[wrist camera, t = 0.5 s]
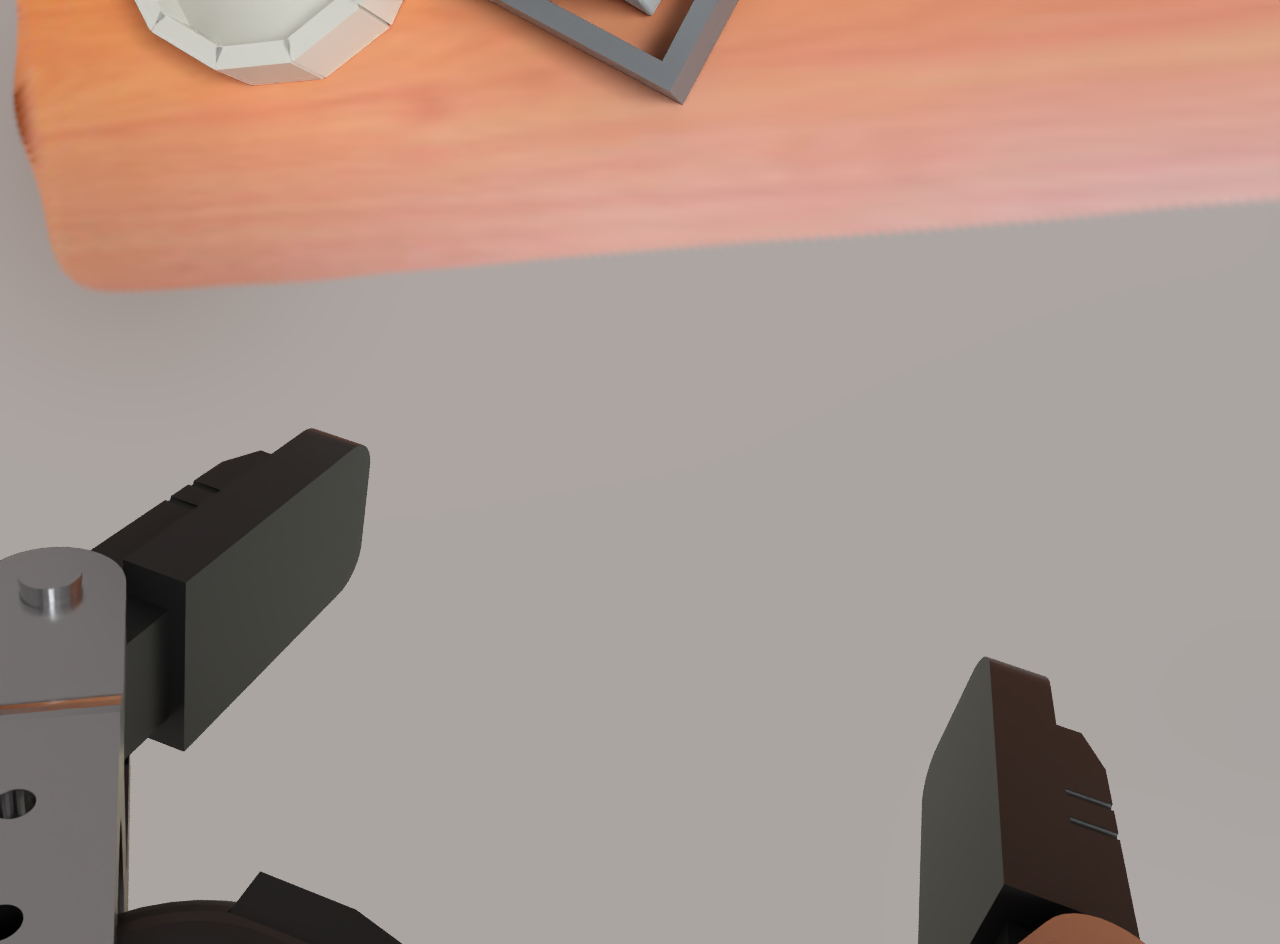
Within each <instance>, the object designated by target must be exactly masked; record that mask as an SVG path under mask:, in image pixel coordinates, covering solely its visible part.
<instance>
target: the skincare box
mask: <svg viewBox="0 0 1280 944" xmlns="http://www.w3.org/2000/svg"><path fill="white" fill-rule="evenodd" d="M625 1H626V2H628V3H630V4H631V5H633V6H635V7H636V8H638V9H640V10H641V11H643V12H644V13H646V14H648V15H650V16H651V15H652V14H654V12H655V11H656V9H657V7H658V5H659V4H660V2H661V0H625Z"/></svg>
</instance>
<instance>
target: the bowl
mask: <svg viewBox="0 0 1280 944" xmlns="http://www.w3.org/2000/svg"><path fill="white" fill-rule="evenodd" d="M135 2H136V4H137V6H138V8H139V10H140V12H141V14H142V16H143V18H144V20H145V22H146V24H147V25H148V27H149V29H150V30H151V31H152V33H154V34H156V35H157V36H159V37H161V38H162V39H164V40H166V41H167V42H169V43H171V44H172V45H174V46H176V47H177V48H179V49H181V50H182V51H184V52H186V53H187V54H189V55H191V56H192V57H194V58H196V59H197V60H199V61H201V62H202V63H204V64H206V65H207V66H209V67H211V68H212V69H214V70H216V71H219V72H221V73H223V74H226V75H228V76H230V77H233V78H235V79H237V80H240V81H242V82H244V83H247V84H249V85H252V86H253V85H264V84H275V83H285V82H296V81H307V80H318V79H323V77H325V78H327V77H328V76H329V75H330V74H332V73H333V72H334V71H335V70H337V69H338V68H339V67H341V66H342V65H343V64H344V63H346V62H347V61H348V60H349V59H351V58H352V57H353V56H355V55H356V54H357V53H358V52H360V51H361V50H362V49H363V48H365V47H366V46H367V45H369V44H370V43H371V42H372V41H374V40H375V39H376V38H377V37H379V36H380V35H381V34H382V33H384V32H385V31H386V30H388V29H389V28H390V27H389V25H388V24H390V25H392V24H393V21H394V19H395V17H396V15H397V13H398V10H399V8H400V6H401V4H402V2H403V0H135ZM387 23H388V24H387Z"/></svg>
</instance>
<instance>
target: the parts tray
mask: <svg viewBox="0 0 1280 944" xmlns="http://www.w3.org/2000/svg"><path fill="white" fill-rule="evenodd" d="M490 1H491V2H493V3H495V4H497V5H499V6H501V7H503V8H504V9H506V10H508V11H510V12H512V13H514V14H516V15H517V16H519V17H521V18H523V19H525V20H527V21H528V22H530V23H532V24H534V25H536V26H538V27H540V28H541V29H543V30H545V31H547V32H549V33H551V34H553V35H554V36H556V37H558V38H560V39H562V40H564V41H566V42H567V43H569V44H571V45H573V46H575V47H577V48H578V49H580V50H582V51H584V52H586V53H588V54H590V55H591V56H593V57H595V58H597V59H599V60H601V61H603V62H604V63H606V64H608V65H610V66H612V67H614V68H616V69H617V70H619V71H621V72H623V73H625V74H627V75H629V76H630V77H632V78H634V79H636V80H638V81H640V82H641V83H643V84H645V85H647V86H649V87H651V88H653V89H654V90H656V91H658V92H660V93H662V94H664V95H666V96H667V97H669V98H671V99H673V100H675V101H677V102H679V103H680V104H682V105H683V103H684V101H685V99H686V98H687V96H688V94H689V92H690V90H691V88H692V86H693V84H694V83H695V81H696V79H697V77H698V75H699V73H700V71H701V69H702V68H703V66H704V64H705V62H706V60H707V58H708V56H709V54H710V53H711V51H712V49H713V47H714V45H715V43H716V41H717V39H718V38H719V36H720V34H721V32H722V30H723V28H724V26H725V24H726V23H727V21H728V19H729V17H730V15H731V13H732V11H733V9H734V8H735V6H736V4H737V2H738V0H694V2H693V4H692V5H691V7H690V9H689V11H688V13H687V15H686V17H685V19H684V21H683V23H682V25H681V26H680V28H679V30H678V32H677V34H676V36H675V38H674V40H673V42H672V44H671V46H670V47H669V49H668V51H667V53H666V55H665V57H664V59H663V61H661V60H659V59H657V58H655V57H653V56H652V55H650V54H648V53H646V52H644V51H642V50H640V49H638V48H636V47H635V46H633V45H631V44H629V43H627V42H625V41H623V40H621V39H620V38H618V37H616V36H614V35H612V34H610V33H608V32H606V31H604V30H603V29H601V28H599V27H597V26H595V25H593V24H591V23H589V22H588V21H586V20H584V19H582V18H580V17H578V16H576V15H574V14H573V13H571V12H569V11H567V10H565V9H563V8H561V7H559V6H557V5H556V4H554V3H552V2H550V1H548V0H490Z"/></svg>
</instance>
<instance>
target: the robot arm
mask: <svg viewBox="0 0 1280 944" xmlns="http://www.w3.org/2000/svg"><path fill="white" fill-rule="evenodd" d="M369 468H370V455H369V451H368V449H367V448H366V446H364V445H361V444H358V443H355V442H352V441H349V440H346V439H343V438H340V437H337V436H334V435H331V434H328V433H325V432H322V431H319V430H316V429H307V430H305V431H303V432H302V433H301V434H299V435H298V436H296V437H295V438H294V439H292V440H291V441H289V442H288V443H287V444H285V445H284V446H282V447H281V448H279V449H278V450H277V451H275V452H274V453H272V454H269V453H266V452H263V451H258V452H254V453H251V454H247V455H244V456H241V457H237V458H234V459H230V460H227V461H224V462H221V463H220V464H218V465H217V466H215V467H214V468H212V469H211V470H209V471H208V472H207V473H205V474H203V475H202V476H200V477H199V478H197V479H196V480H194V483H193V485H192V486H191V485H187V486H185V487H184V488H182V489H181V490H180V491H178V492H177V493H175V494H174V495H172V496H171V499H170V501H166V500H165V501H163V502H162V503H160V504H159V505H157V506H156V507H154V508H153V509H151V510H150V511H148V512H147V513H145V514H144V515H142V516H141V517H140V518H138V519H136V520H135V521H134V522H132V523H131V524H129V525H127V526H126V527H125V528H123V529H122V530H120V531H119V532H117V533H116V534H114V535H113V536H111V537H110V538H108V539H107V540H105V541H104V542H102V543H101V544H99V545H98V546H97V547H95V548H93V549H92V550H85V549H80V548H70V547H50V548H40V549H34V550H29V551H25V552H21V553H17V554H14V555H12V556H9V557H7V558H4V559H2V560H0V944H402V943H400V942H399V941H398V940H396V939H395V938H394V937H392V936H391V935H389V934H388V933H386V932H385V931H384V930H383V929H381V928H380V927H379V926H377V925H376V924H375V923H373V922H372V921H370V920H369V919H368V918H366V917H365V916H364V915H362V914H361V913H360V912H358V911H357V910H355V909H353V908H350V907H348V906H345V905H343V904H340V903H338V902H335V901H333V900H330V899H328V898H325V897H323V896H320V895H318V894H315V893H313V892H310V891H308V890H305V889H303V888H300V887H298V886H295V885H293V884H290V883H287V882H285V881H283V880H280V879H278V878H275V877H273V876H270V875H268V874H265V873H263V872H260V873H259V874H258V875H257V876H256V878H255V879H254V880H253V882H252V883H251V884H250V885H249V887H248V888H247V889H246V891H245V892H244V893H243V895H242V896H241V897H240V899H239V900H238V901H237V902H232V901H216V900H192V901H180V902H169V903H163V904H158V905H152V906H146V907H141V908H138V909H134V910H130V911H128V881H129V822H130V754H131V753H132V752H133V751H134V750H135V749H136V748H137V747H138V746H139V745H141V743H143V742H144V741H145V740H146V739H147V738H150V739H153V740H155V741H158V742H160V743H163V744H166V745H168V746H171V747H174V748H176V749H179V750H181V751H185V750H186V749H187V748H188V747H189V746H190V745H191V744H192V743H193V742H194V741H195V740H196V739H197V738H198V737H199V736H200V735H201V734H202V733H203V732H204V731H205V730H206V729H207V727H209V726H210V725H211V724H212V722H214V720H215V719H216V718H217V717H218V716H219V715H220V714H221V713H222V712H223V711H224V710H225V709H226V708H227V707H228V706H229V705H230V704H231V703H232V702H233V701H234V700H235V699H236V698H237V697H238V696H239V695H240V694H241V693H242V692H243V691H244V690H245V689H246V688H247V687H248V686H249V685H250V684H251V683H252V682H253V681H254V680H255V679H256V678H257V676H259V674H261V673H262V672H263V671H264V669H265V668H266V667H267V666H268V665H269V664H270V663H271V662H272V661H273V660H274V659H275V658H276V657H277V656H278V655H279V654H280V653H281V652H282V651H283V650H284V649H285V648H286V647H287V646H288V645H289V644H290V643H291V642H292V641H293V640H294V639H295V638H296V637H297V636H298V635H299V634H300V633H301V632H302V631H303V630H304V629H305V628H306V627H307V626H308V625H309V624H310V622H311V621H312V620H314V619H315V617H316V616H317V615H318V614H319V613H320V612H321V611H322V610H323V609H324V608H325V607H326V606H327V605H328V604H329V603H330V602H331V601H332V600H333V599H334V598H335V597H336V596H337V595H338V594H339V593H340V592H341V591H342V590H343V588H344V587H345V585H346V584H347V582H348V581H349V579H350V577H351V575H352V573H353V571H354V569H355V566H356V563H357V561H358V557H359V553H360V549H361V542H362V533H363V524H364V515H365V505H366V496H367V486H368V478H369ZM1111 806H1112V800H1111V794H1110V789H1109V784H1108V779H1107V775H1106V770H1105V768H1104V767H1103V765H1102V764H1101V762H1100V761H1099V759H1098V758H1097V756H1096V754H1095V753H1094V751H1093V750H1092V748H1091V747H1090V746H1089V744H1088V743H1087V741H1086V740H1085V738H1084V737H1083V735H1082V734H1081V733H1079V732H1076V731H1073V730H1070V729H1067V728H1064V727H1061V726H1059V725H1056V720H1055V713H1054V706H1053V700H1052V693H1051V686H1050V682H1049V680H1048V678H1046V677H1045V676H1042V675H1039V674H1036V673H1033V672H1030V671H1027V670H1024V669H1021V668H1018V667H1015V666H1012V665H1009V664H1006V663H1003V662H1000V661H997V660H994V659H991V658H988V657H983V658H982V659H981V660H980V661H979V663H978V664H977V666H976V667H975V669H974V671H973V673H972V675H971V677H970V680H969V681H968V683H967V686H966V688H965V690H964V692H963V694H962V696H961V698H960V700H959V702H958V704H957V706H956V708H955V710H954V713H953V715H952V717H951V719H950V721H949V723H948V725H947V727H946V729H945V731H944V733H943V736H942V737H941V740H940V742H939V744H938V746H937V748H936V750H935V752H934V755H933V758H932V760H931V763H930V766H929V769H928V773H927V777H926V781H925V785H924V791H923V798H922V826H921V861H920V862H921V863H920V897H919V934H918V944H1145V943H1143V942H1142V941H1141V940H1140V938H1139V933H1138V928H1137V923H1136V918H1135V914H1134V909H1133V904H1132V899H1131V894H1130V888H1129V883H1128V878H1127V873H1126V868H1125V864H1124V859H1123V854H1122V849H1121V844H1120V840H1117V834H1118V830H1117V824H1116V819H1115V814H1114V811H1112V810H1111Z"/></svg>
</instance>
